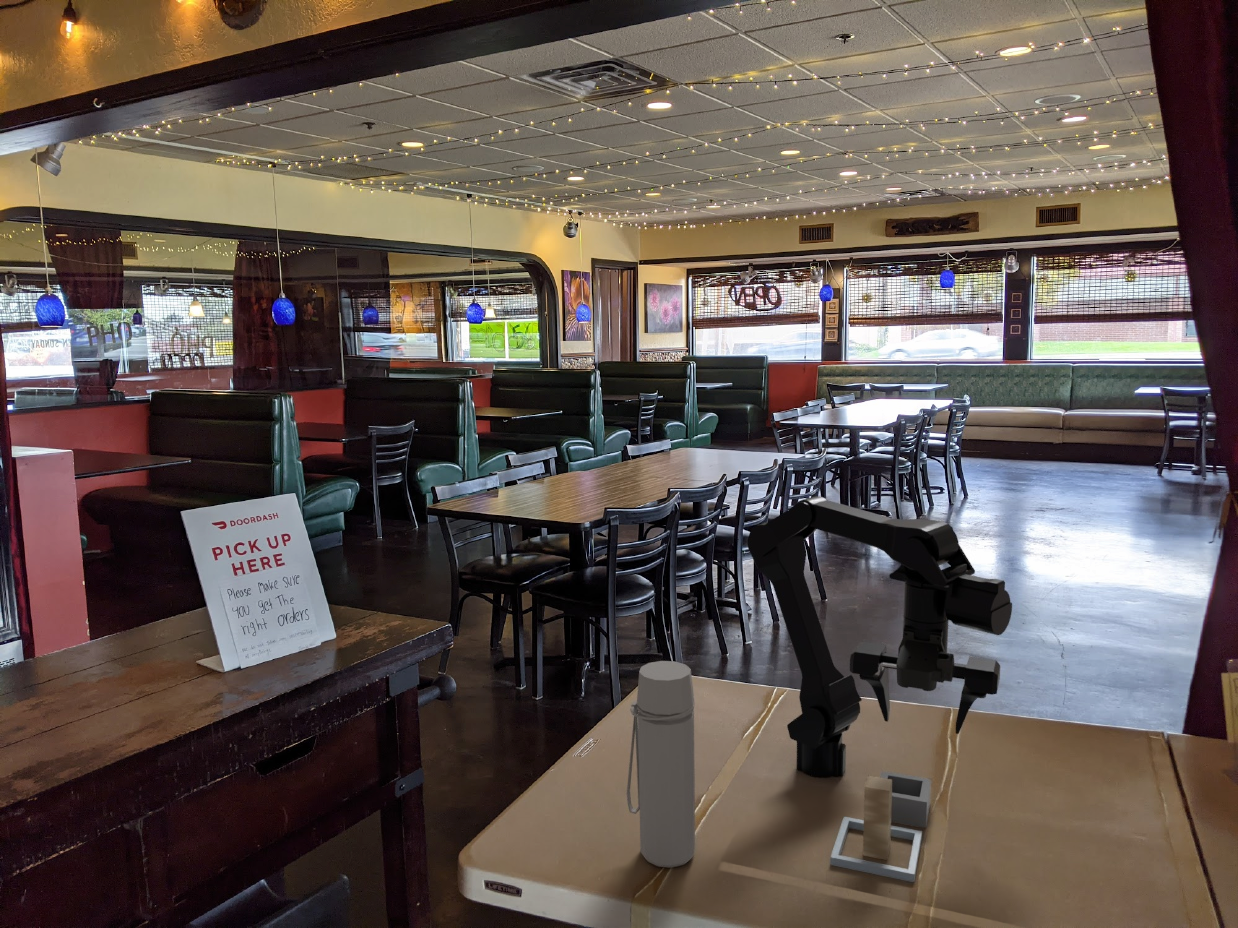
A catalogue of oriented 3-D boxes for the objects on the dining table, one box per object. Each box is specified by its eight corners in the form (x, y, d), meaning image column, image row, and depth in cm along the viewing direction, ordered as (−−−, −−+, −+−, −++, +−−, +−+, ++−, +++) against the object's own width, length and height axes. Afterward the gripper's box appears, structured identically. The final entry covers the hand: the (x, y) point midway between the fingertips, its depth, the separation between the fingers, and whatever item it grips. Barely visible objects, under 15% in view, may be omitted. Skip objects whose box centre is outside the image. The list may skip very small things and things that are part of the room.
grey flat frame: (830, 870, 115) (830, 856, 115) (843, 828, 124) (844, 816, 124) (913, 887, 111) (914, 874, 111) (921, 843, 120) (921, 831, 120)
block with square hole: (874, 823, 125) (875, 793, 124) (881, 800, 131) (881, 770, 130) (925, 833, 123) (926, 802, 122) (929, 808, 129) (930, 778, 128)
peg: (862, 856, 117) (864, 786, 115) (866, 843, 120) (868, 775, 118) (887, 861, 116) (889, 790, 114) (890, 848, 118) (892, 779, 117)
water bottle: (705, 844, 121) (703, 663, 117) (683, 877, 114) (681, 686, 110) (640, 829, 125) (637, 654, 121) (616, 860, 118) (611, 675, 114)
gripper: (841, 625, 120) (839, 738, 122) (996, 646, 111) (990, 766, 114) (859, 601, 129) (856, 705, 132) (1003, 618, 121) (997, 729, 124)
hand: (921, 726), depth 125 cm, fingers open, 9 cm apart
